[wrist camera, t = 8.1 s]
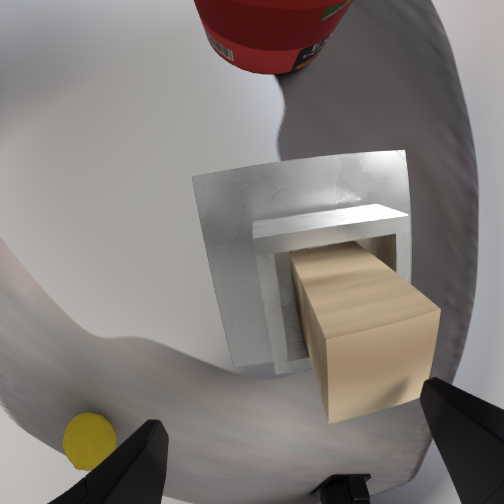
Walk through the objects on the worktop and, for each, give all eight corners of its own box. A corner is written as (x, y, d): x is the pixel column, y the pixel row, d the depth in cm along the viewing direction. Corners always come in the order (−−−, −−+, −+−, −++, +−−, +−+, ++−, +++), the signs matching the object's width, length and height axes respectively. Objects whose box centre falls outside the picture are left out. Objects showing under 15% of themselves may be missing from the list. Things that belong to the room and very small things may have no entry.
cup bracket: (400, 326, 21) (438, 371, 15) (234, 358, 22) (229, 417, 16) (396, 150, 18) (451, 147, 11) (195, 176, 18) (167, 179, 12)
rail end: (358, 302, 18) (424, 395, 9) (297, 314, 18) (328, 423, 9) (355, 241, 16) (440, 309, 8) (288, 252, 17) (325, 339, 8)
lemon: (133, 433, 25) (113, 488, 18) (95, 429, 26) (71, 477, 18) (112, 399, 24) (83, 456, 16) (73, 396, 24) (41, 445, 16)
